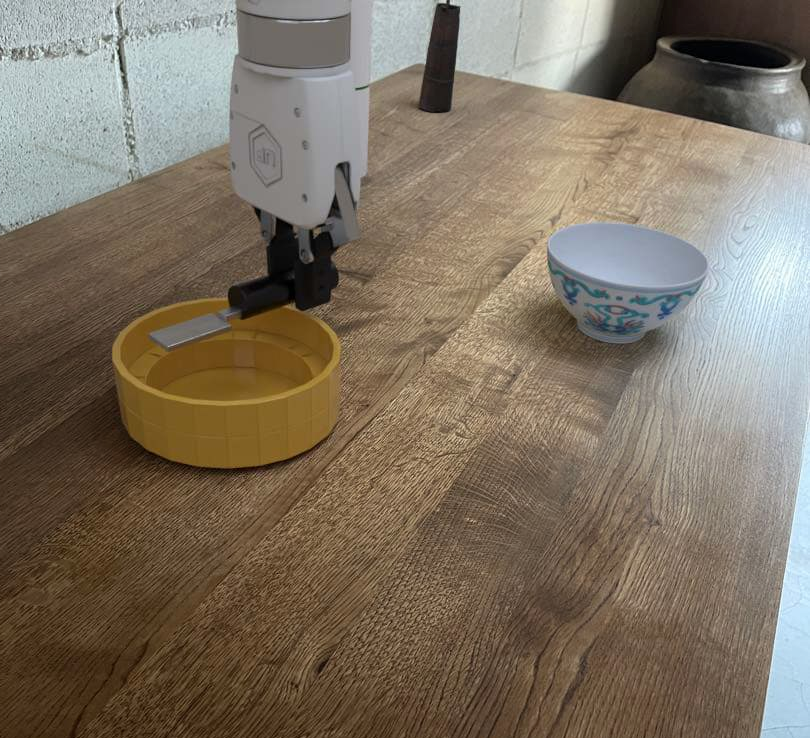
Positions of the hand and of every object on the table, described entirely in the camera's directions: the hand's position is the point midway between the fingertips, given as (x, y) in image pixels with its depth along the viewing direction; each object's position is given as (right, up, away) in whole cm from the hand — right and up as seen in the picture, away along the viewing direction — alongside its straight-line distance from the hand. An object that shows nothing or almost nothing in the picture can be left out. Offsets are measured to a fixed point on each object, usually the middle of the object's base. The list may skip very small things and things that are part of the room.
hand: (299, 296), depth 73 cm
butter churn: (+13, +49, +74) cm, 90 cm away
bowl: (-6, -9, +1) cm, 11 cm away
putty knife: (-4, -2, -3) cm, 5 cm away
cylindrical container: (0, +29, +49) cm, 57 cm away
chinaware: (+29, +1, +18) cm, 34 cm away
